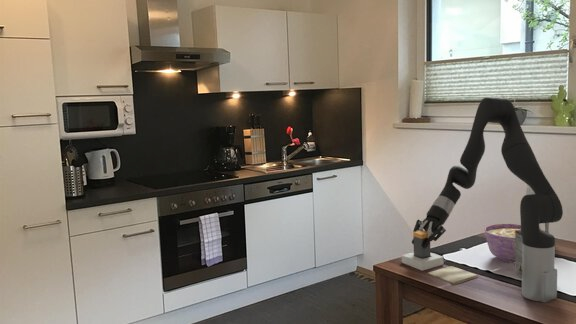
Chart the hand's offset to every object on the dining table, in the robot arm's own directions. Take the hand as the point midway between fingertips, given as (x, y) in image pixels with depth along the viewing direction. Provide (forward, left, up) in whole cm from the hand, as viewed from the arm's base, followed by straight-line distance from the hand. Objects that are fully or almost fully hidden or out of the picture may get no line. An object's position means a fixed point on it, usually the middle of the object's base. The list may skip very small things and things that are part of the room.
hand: (418, 245), depth 194 cm
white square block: (0, -2, -8) cm, 8 cm away
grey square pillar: (0, -2, -7) cm, 7 cm away
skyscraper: (-7, -60, -8) cm, 61 cm away
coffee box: (-31, -24, -8) cm, 40 cm away
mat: (-15, -2, -8) cm, 17 cm away
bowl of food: (-16, -33, -8) cm, 38 cm away
